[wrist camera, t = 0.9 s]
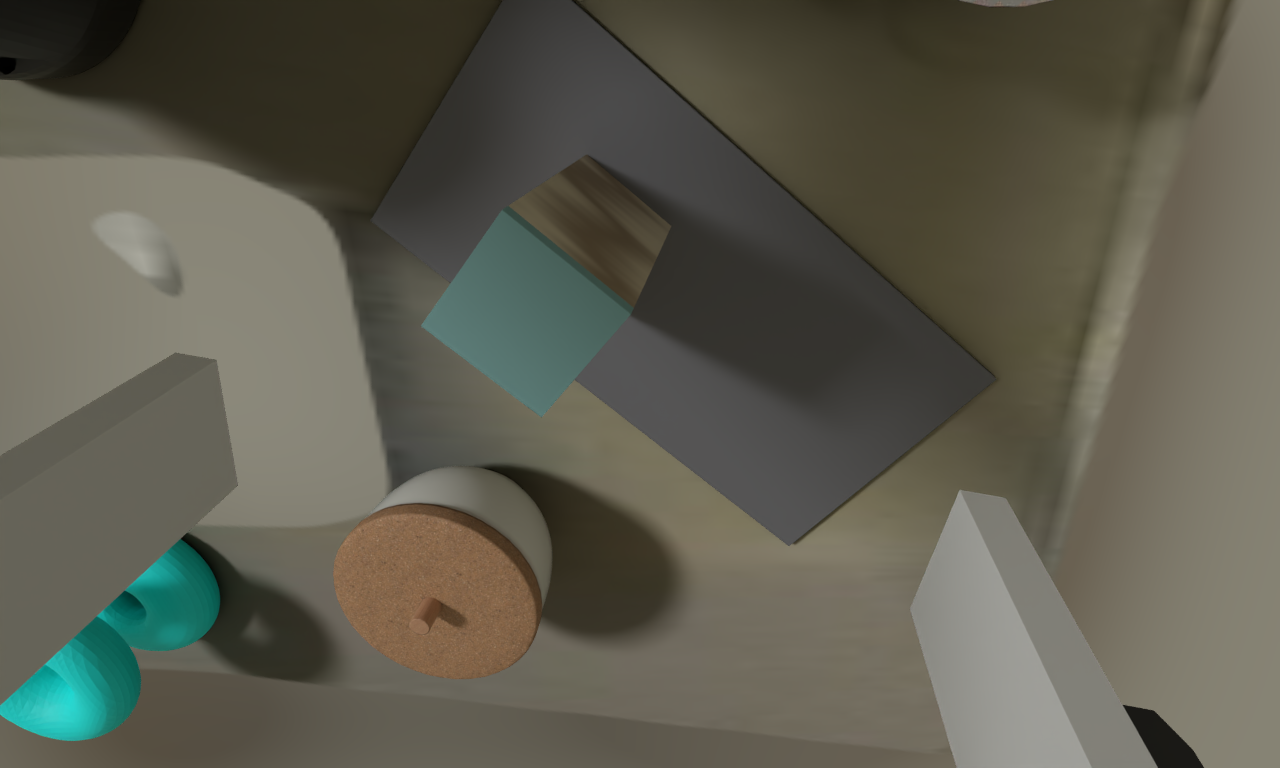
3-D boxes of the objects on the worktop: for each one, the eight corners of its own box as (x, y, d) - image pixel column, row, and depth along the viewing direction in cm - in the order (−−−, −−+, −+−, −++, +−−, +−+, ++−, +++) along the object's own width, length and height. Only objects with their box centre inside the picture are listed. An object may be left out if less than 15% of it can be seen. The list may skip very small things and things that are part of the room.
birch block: (525, 237, 34) (420, 325, 23) (586, 154, 32) (501, 210, 21) (606, 302, 35) (541, 417, 24) (671, 226, 33) (631, 314, 22)
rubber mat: (374, 218, 35) (370, 220, 35) (529, -39, 29) (526, -40, 29) (788, 541, 40) (788, 546, 40) (994, 375, 34) (996, 379, 34)
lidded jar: (610, 527, 41) (573, 650, 33) (492, 607, 46) (432, 734, 37) (478, 399, 39) (402, 496, 31) (366, 496, 43) (272, 605, 35)
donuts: (49, 618, 37) (144, 750, 41) (187, 505, 46) (253, 623, 50) (-92, 629, 39) (10, 753, 43) (65, 520, 48) (138, 631, 52)
